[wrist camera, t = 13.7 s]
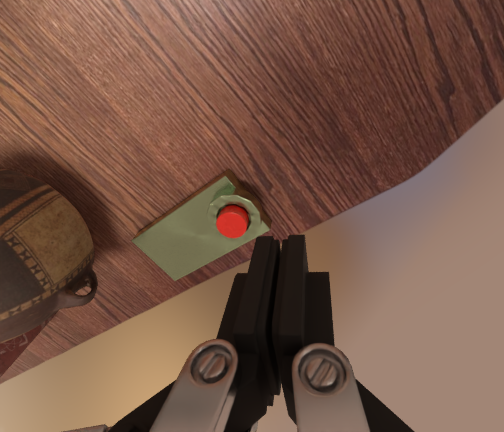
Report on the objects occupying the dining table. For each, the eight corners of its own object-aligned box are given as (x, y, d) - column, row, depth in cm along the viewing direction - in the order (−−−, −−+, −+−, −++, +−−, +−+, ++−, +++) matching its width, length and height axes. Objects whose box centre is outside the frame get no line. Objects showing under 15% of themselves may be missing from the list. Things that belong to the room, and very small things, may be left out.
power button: (236, 199, 34) (233, 207, 32) (254, 221, 35) (252, 230, 34) (213, 213, 35) (209, 221, 34) (232, 234, 37) (229, 243, 35)
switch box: (237, 162, 35) (230, 176, 32) (279, 216, 38) (277, 234, 35) (138, 231, 43) (124, 248, 40) (180, 271, 47) (170, 290, 43)
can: (21, 290, 55) (-54, 359, 44) (53, 295, 55) (-15, 367, 43) (32, 311, 59) (-36, 381, 47) (61, 316, 58) (0, 388, 46)
